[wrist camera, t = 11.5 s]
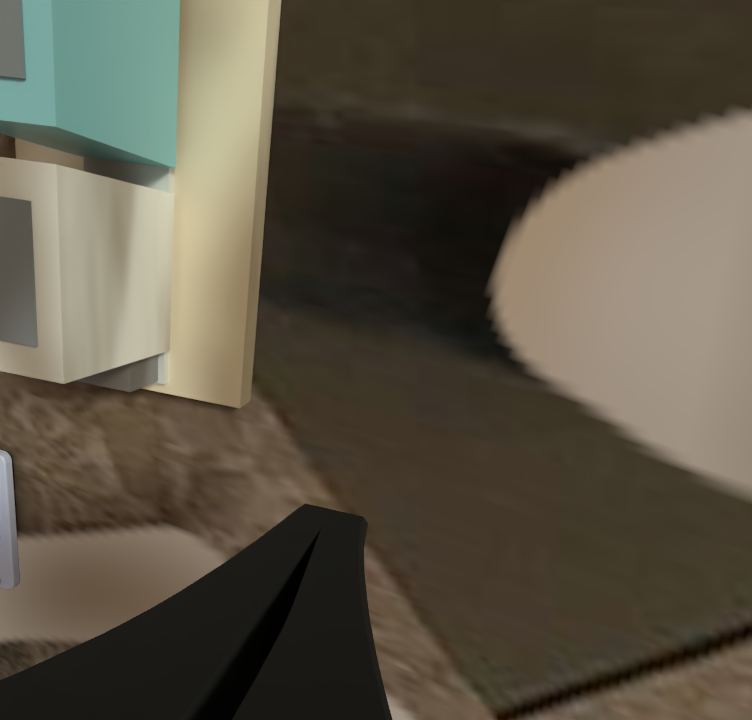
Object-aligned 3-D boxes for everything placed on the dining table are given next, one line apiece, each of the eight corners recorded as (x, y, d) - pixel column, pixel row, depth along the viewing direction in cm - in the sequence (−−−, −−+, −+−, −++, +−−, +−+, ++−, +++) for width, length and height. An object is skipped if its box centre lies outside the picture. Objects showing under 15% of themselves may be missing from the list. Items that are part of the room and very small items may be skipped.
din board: (47, 360, 20) (-131, 403, 14) (18, -337, 14) (-311, -797, 8) (250, 400, 19) (153, 468, 13) (308, -344, 13) (182, -893, 7)
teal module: (78, 155, 16) (-83, 109, 11) (73, -32, 15) (-113, -179, 10) (175, 168, 16) (52, 125, 11) (180, -25, 14) (41, -176, 9)
